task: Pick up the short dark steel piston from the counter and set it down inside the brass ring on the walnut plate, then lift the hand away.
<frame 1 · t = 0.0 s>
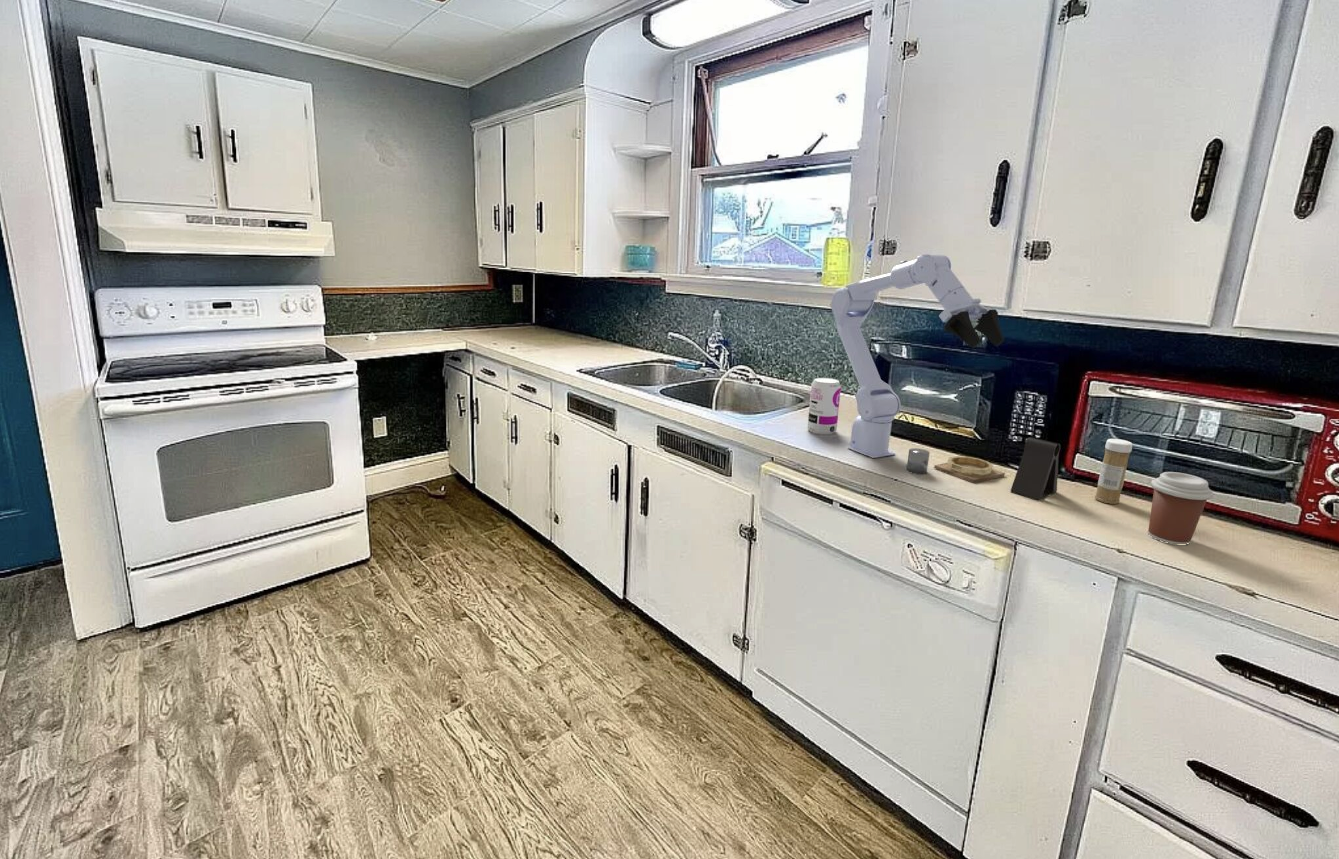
hand: (988, 343, 135), 32 cm above the worktop, tool tilted 50°, fingers open, 7 cm apart
steel piston: (916, 471, 154), on the worktop
coffee cup: (1168, 539, 121), on the worktop
phone stand: (1033, 493, 142), on the worktop
sprinkles bottle: (1106, 501, 138), on the worktop
ring plate: (968, 472, 154), on the worktop
supplement can: (821, 432, 185), on the worktop
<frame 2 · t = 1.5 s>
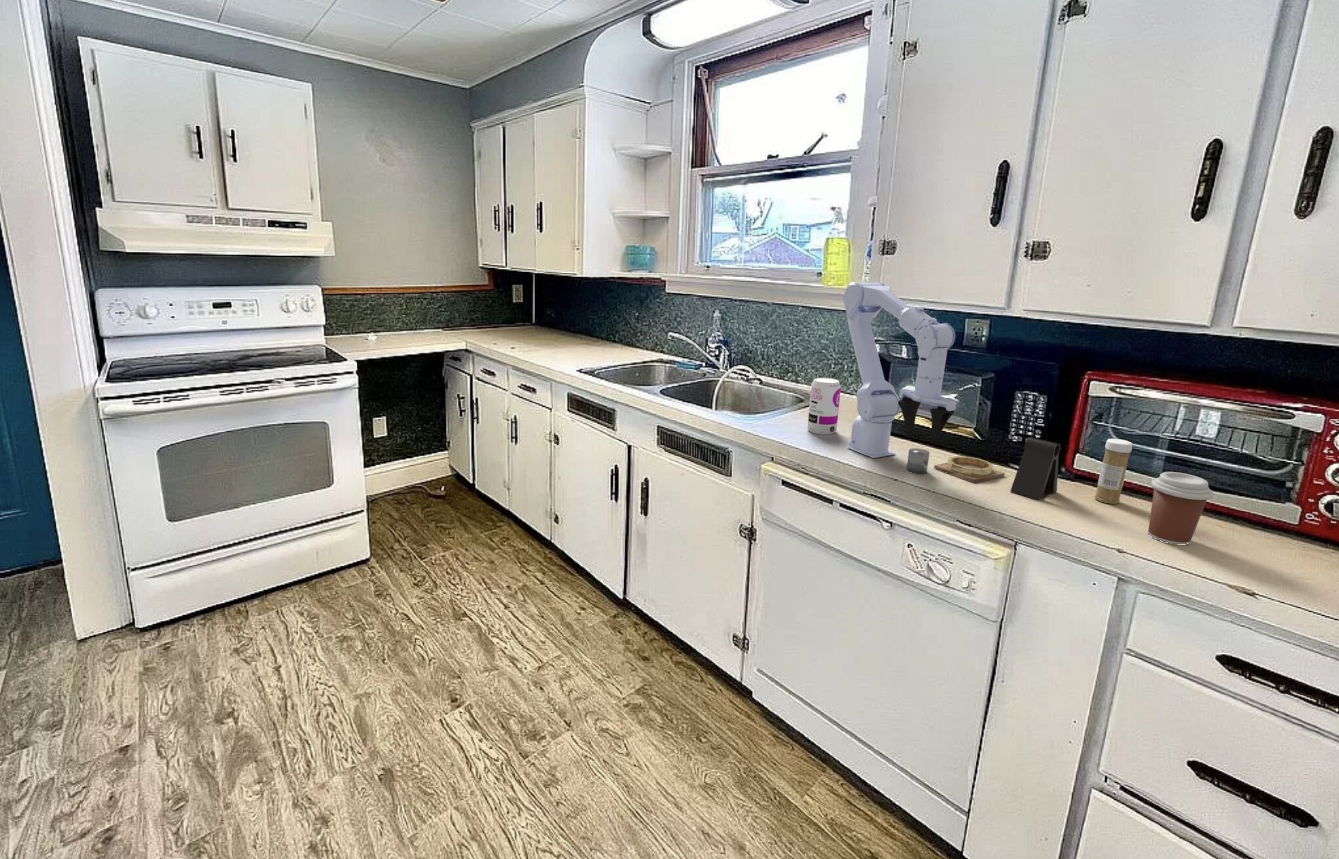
hand: (921, 433, 151), 9 cm above the worktop, tool pointing down, fingers open, 7 cm apart
nothing on the worktop moved.
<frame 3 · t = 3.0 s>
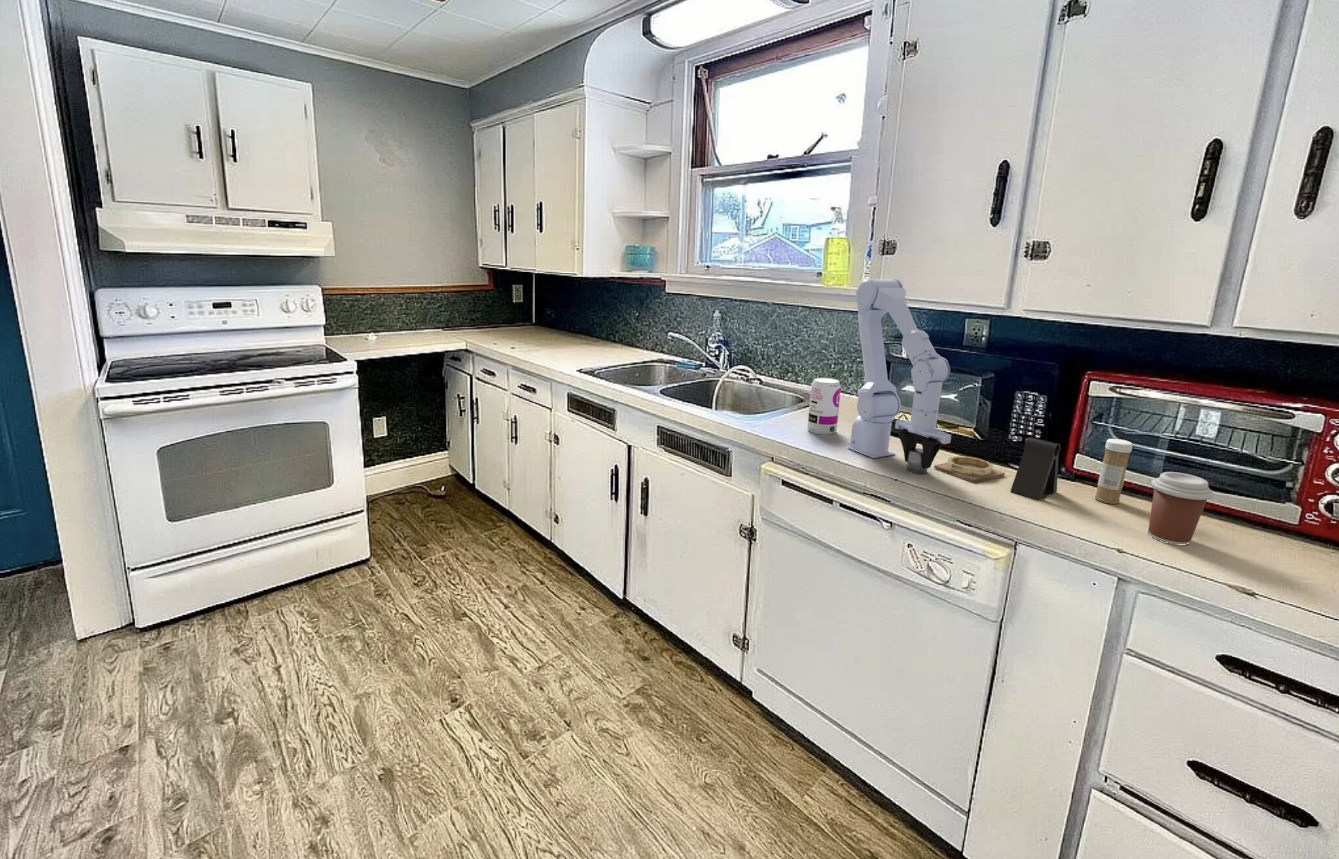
hand: (917, 464, 153), 2 cm above the worktop, tool pointing down, fingers closed on steel piston, 5 cm apart
steel piston: (916, 470, 154), on the worktop, touching gripper
everything else where it was.
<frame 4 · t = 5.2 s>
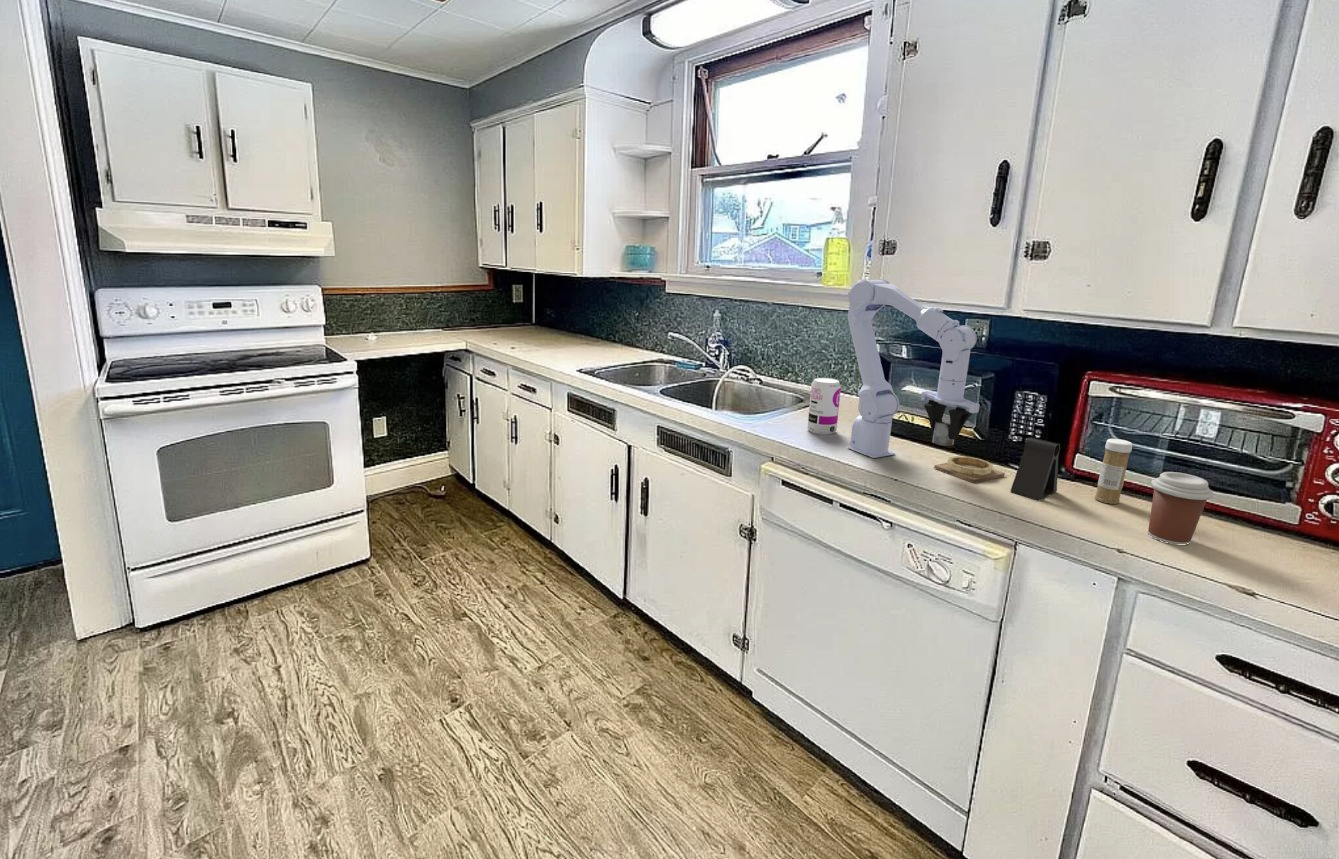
hand: (944, 435, 151), 9 cm above the worktop, tool pointing down, fingers closed on steel piston, 5 cm apart
steel piston: (942, 442, 152), point 7 cm above the worktop, touching gripper
everything else where it was.
when the fingers open (4 cm above the worktop, at t = 7.6 s): steel piston drops 1 cm, resting on ring plate.
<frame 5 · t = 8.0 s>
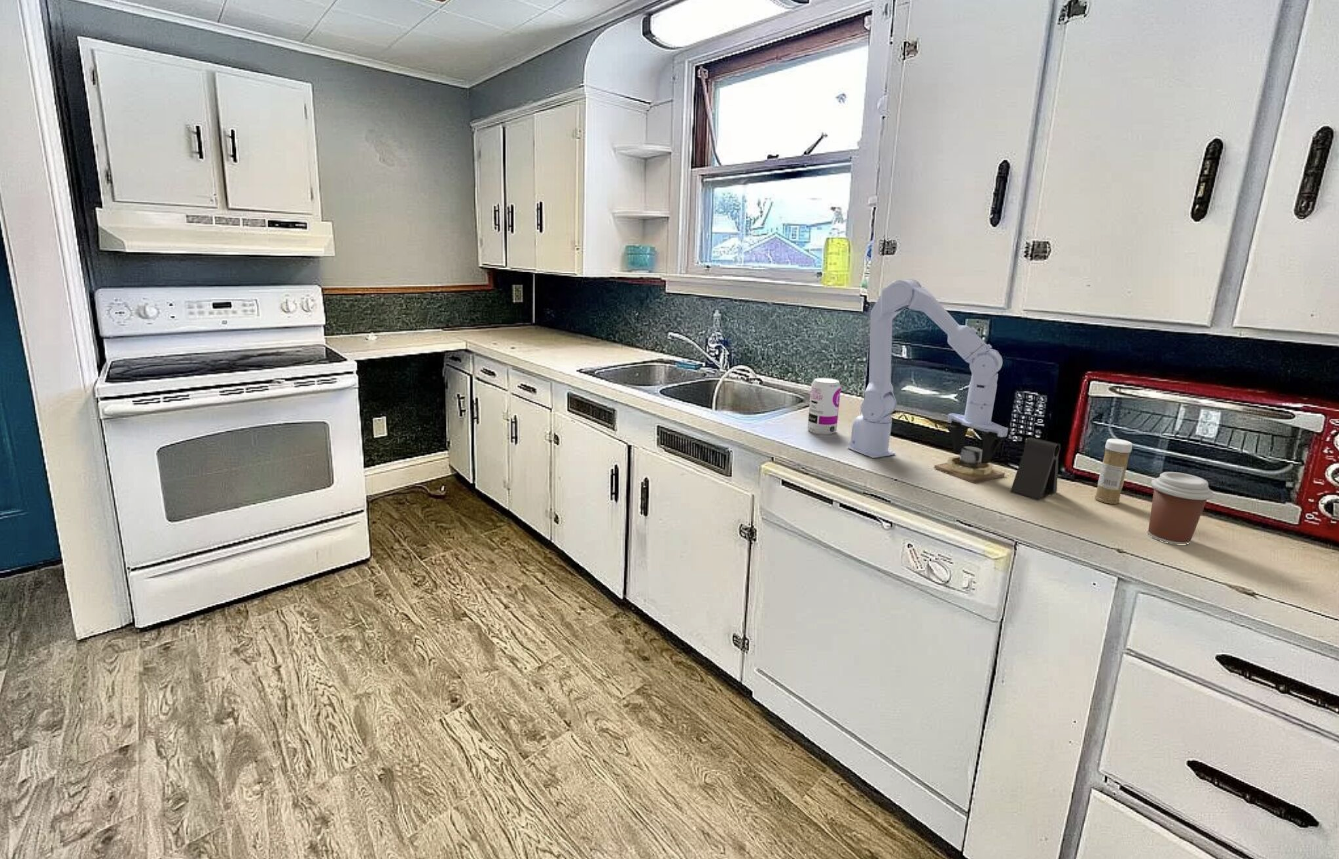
hand: (971, 458, 153), 4 cm above the worktop, tool pointing down, fingers open, 7 cm apart
steel piston: (968, 469, 153), point 1 cm above the worktop, touching ring plate
everything else where it was.
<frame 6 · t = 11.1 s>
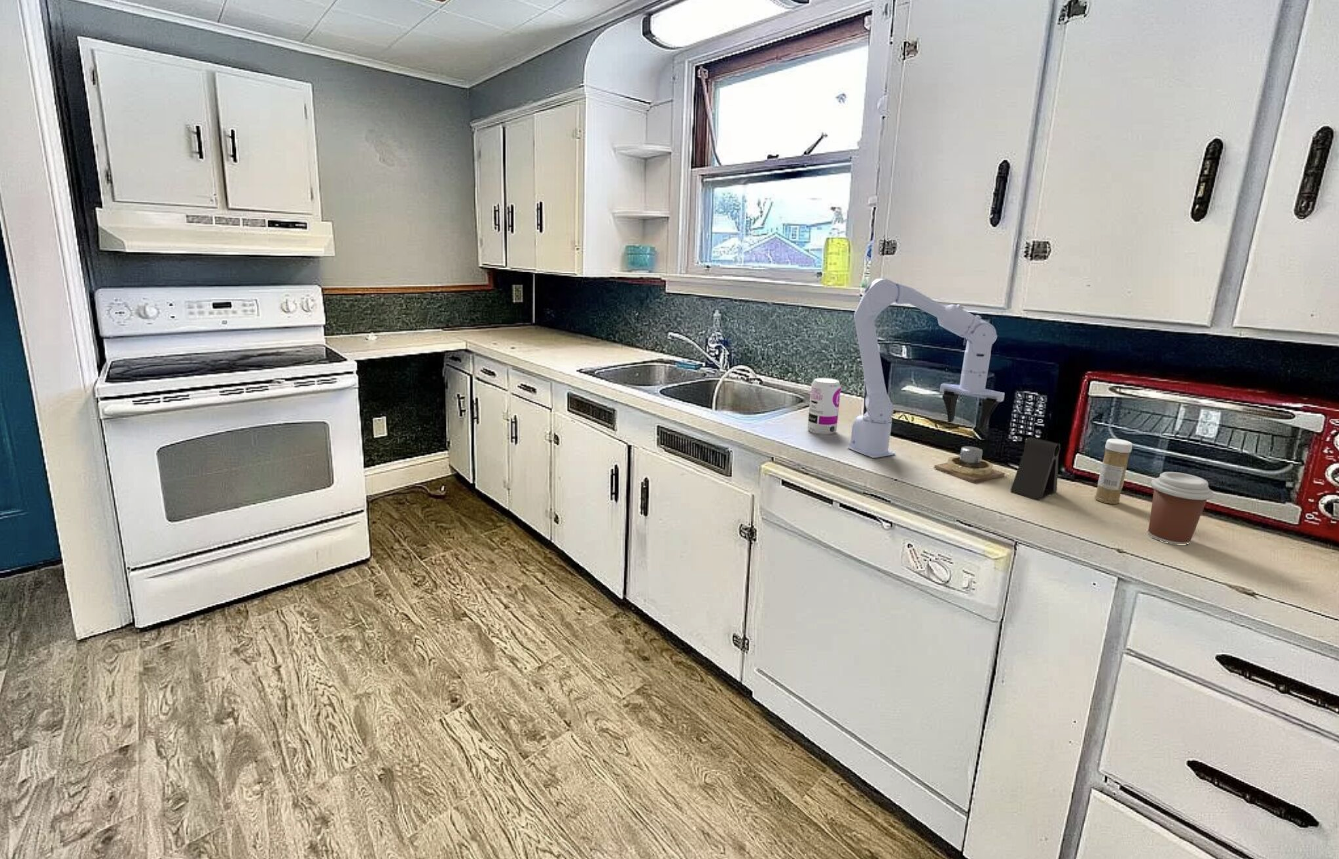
hand: (966, 424, 160), 9 cm above the worktop, tool pointing down, fingers open, 7 cm apart
nothing on the worktop moved.
at the end: steel piston 0.1 cm off-centre on the ring plate, point 0.8 cm above the ring plate's base; steel piston tilted 0°; the gripper is holding nothing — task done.
